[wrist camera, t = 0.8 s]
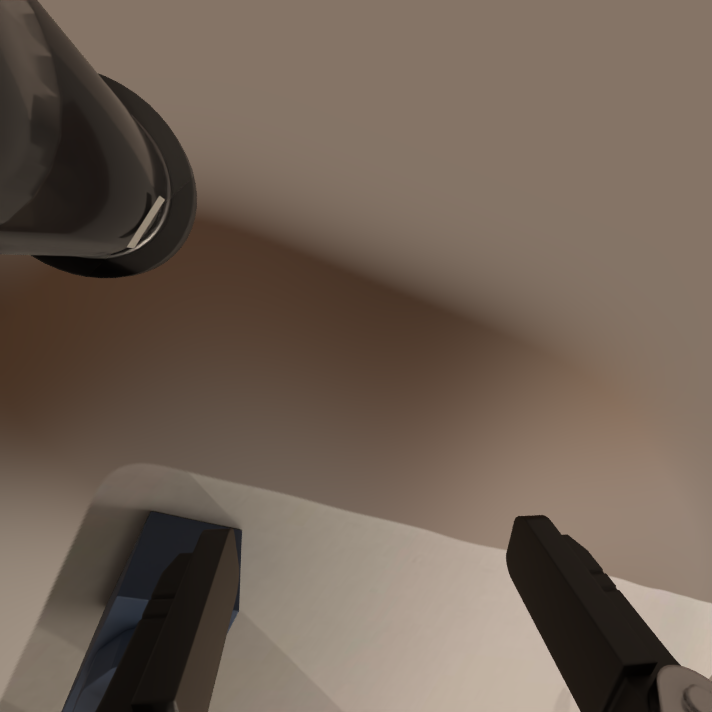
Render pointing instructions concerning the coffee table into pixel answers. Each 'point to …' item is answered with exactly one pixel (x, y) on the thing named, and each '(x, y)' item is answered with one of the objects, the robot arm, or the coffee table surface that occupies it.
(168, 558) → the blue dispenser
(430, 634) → the coffee table surface
